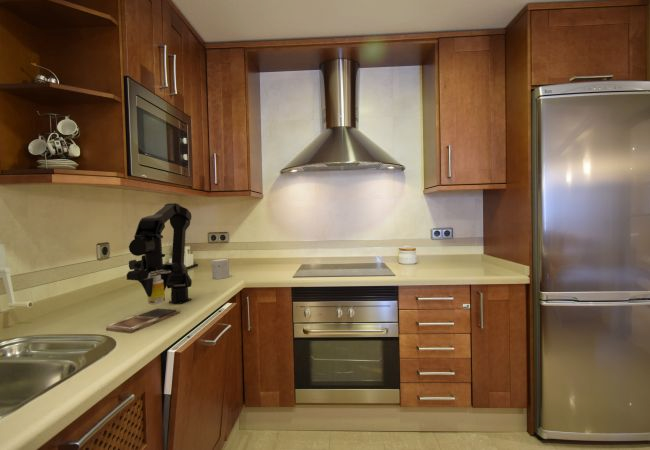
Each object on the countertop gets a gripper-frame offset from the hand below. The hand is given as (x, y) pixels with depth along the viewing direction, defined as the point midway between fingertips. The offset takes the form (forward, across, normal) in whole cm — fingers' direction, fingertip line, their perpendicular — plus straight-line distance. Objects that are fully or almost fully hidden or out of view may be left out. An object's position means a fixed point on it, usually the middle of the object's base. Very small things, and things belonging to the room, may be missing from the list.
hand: (156, 294), depth 123 cm
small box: (+9, -65, -21) cm, 69 cm away
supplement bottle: (+3, 0, 0) cm, 3 cm away
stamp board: (+8, +5, 0) cm, 10 cm away
